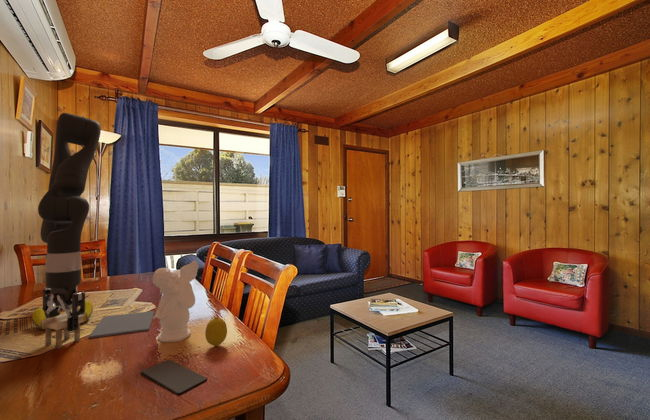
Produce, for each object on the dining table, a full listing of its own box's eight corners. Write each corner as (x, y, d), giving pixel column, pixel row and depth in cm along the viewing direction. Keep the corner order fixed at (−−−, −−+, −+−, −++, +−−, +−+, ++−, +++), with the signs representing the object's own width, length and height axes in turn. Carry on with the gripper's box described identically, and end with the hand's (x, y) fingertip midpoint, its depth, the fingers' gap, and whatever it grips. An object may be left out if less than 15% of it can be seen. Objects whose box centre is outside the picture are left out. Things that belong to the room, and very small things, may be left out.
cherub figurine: (150, 345, 83) (150, 264, 83) (157, 329, 95) (156, 258, 95) (199, 338, 88) (198, 261, 88) (199, 323, 99) (199, 255, 99)
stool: (41, 346, 82) (41, 319, 82) (68, 337, 88) (68, 312, 88) (56, 350, 80) (57, 323, 80) (83, 340, 86) (83, 315, 86)
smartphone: (178, 393, 60) (139, 371, 69) (178, 398, 60) (139, 375, 69) (208, 378, 66) (169, 358, 74) (208, 382, 66) (169, 362, 74)
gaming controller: (32, 325, 97) (31, 335, 89) (32, 308, 97) (31, 316, 89) (91, 315, 107) (95, 322, 100) (92, 299, 107) (95, 306, 100)
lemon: (214, 353, 79) (214, 322, 79) (200, 348, 82) (201, 318, 82) (231, 345, 83) (231, 316, 83) (217, 340, 86) (218, 312, 86)
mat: (103, 318, 103) (103, 316, 103) (154, 312, 110) (154, 310, 110) (88, 338, 87) (88, 336, 87) (149, 330, 93) (149, 328, 93)
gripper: (96, 268, 85) (95, 327, 85) (62, 264, 90) (62, 320, 90) (65, 273, 78) (64, 337, 78) (31, 269, 83) (30, 329, 83)
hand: (63, 328), depth 84 cm, fingers open, 7 cm apart
